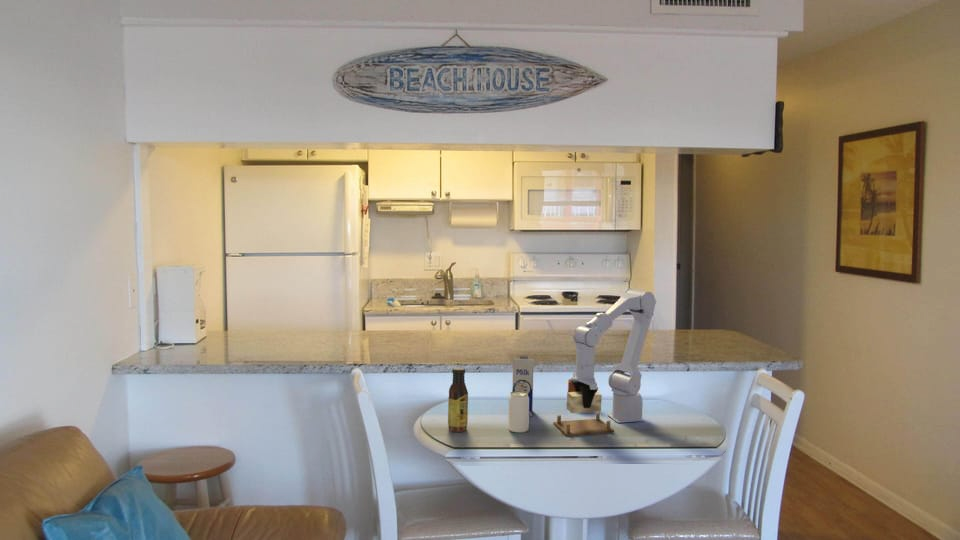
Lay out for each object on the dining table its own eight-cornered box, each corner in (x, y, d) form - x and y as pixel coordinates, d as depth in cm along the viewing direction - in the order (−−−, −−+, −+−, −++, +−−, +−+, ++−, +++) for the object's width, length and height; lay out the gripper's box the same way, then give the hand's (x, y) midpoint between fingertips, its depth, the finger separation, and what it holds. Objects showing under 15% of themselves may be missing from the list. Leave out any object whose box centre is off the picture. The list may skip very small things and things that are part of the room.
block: (595, 406, 203) (595, 390, 203) (601, 411, 199) (601, 394, 198) (566, 408, 201) (567, 392, 200) (571, 413, 197) (572, 396, 196)
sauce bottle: (463, 434, 194) (463, 372, 192) (444, 431, 196) (445, 370, 194) (470, 427, 200) (471, 367, 198) (452, 424, 202) (453, 365, 200)
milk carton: (511, 415, 211) (512, 358, 209) (512, 409, 218) (513, 353, 216) (532, 416, 211) (533, 359, 209) (532, 410, 217) (534, 354, 215)
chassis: (599, 420, 208) (599, 411, 207) (614, 432, 197) (614, 422, 197) (553, 424, 204) (553, 414, 204) (565, 436, 193) (565, 426, 193)
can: (514, 434, 194) (515, 397, 193) (504, 428, 200) (505, 391, 199) (532, 431, 197) (533, 394, 196) (521, 425, 203) (522, 389, 202)
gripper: (565, 358, 204) (564, 399, 206) (582, 370, 190) (581, 413, 192) (585, 358, 206) (583, 397, 207) (603, 369, 192) (602, 411, 193)
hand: (583, 405), depth 200 cm, fingers closed on block, 4 cm apart
